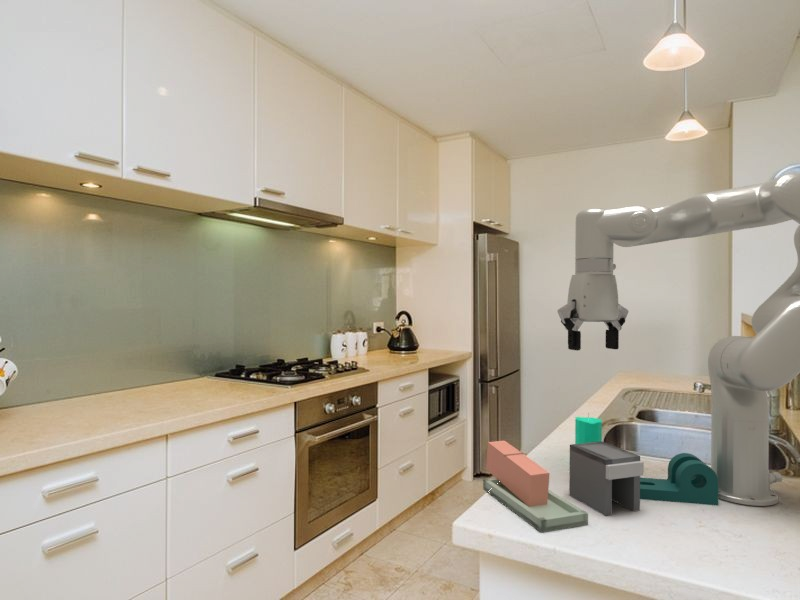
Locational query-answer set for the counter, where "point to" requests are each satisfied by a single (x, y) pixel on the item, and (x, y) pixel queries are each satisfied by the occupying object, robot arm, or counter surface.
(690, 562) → the counter surface
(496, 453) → the terracotta pink bar
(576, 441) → the candle
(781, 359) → the robot arm
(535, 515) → the tray
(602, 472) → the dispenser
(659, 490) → the bracket
